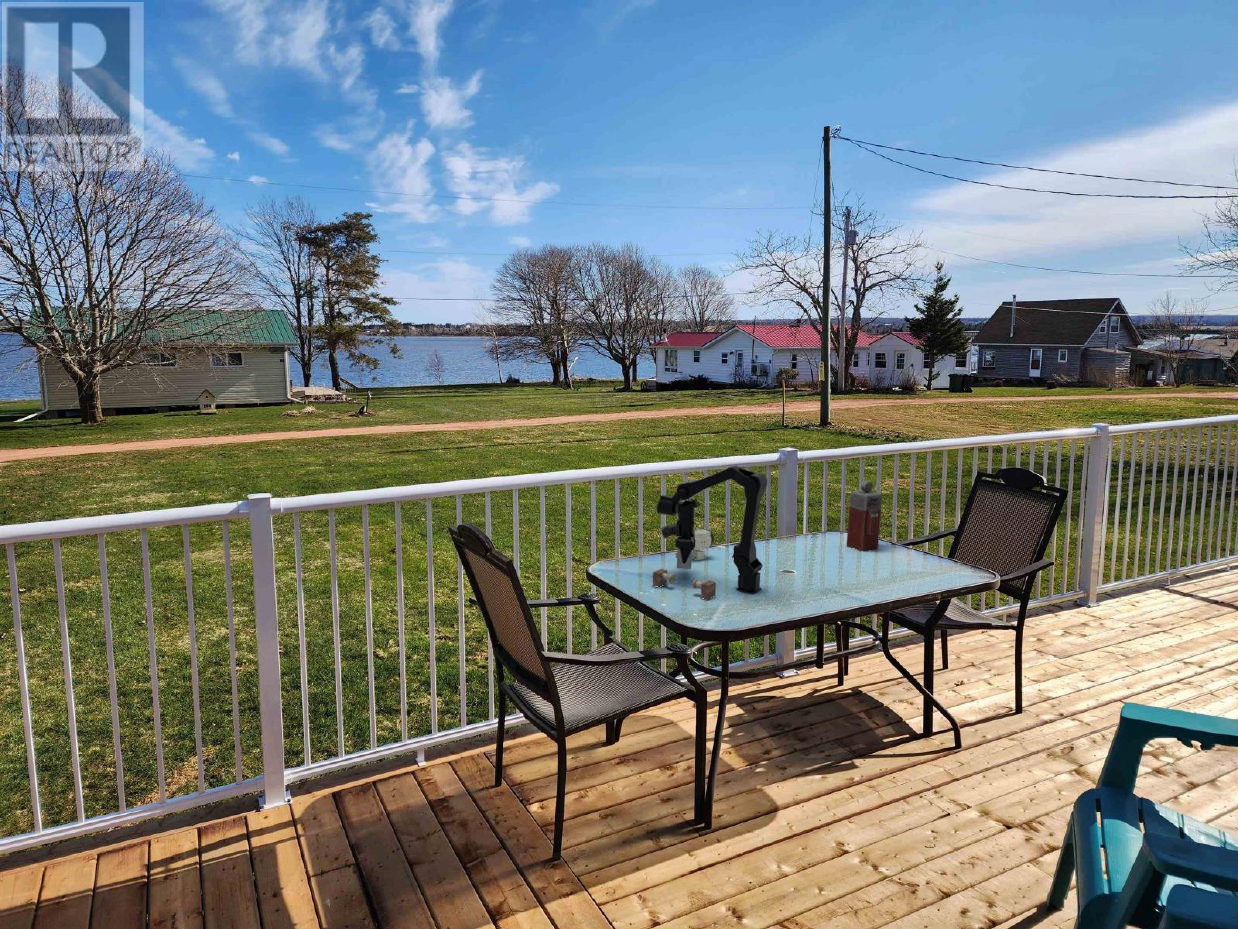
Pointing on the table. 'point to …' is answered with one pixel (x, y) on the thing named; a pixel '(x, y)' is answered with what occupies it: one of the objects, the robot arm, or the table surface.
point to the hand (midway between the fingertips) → (684, 561)
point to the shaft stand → (706, 588)
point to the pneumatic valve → (701, 543)
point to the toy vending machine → (864, 518)
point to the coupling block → (679, 560)
